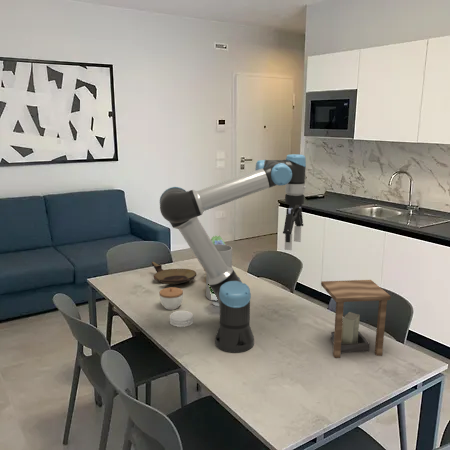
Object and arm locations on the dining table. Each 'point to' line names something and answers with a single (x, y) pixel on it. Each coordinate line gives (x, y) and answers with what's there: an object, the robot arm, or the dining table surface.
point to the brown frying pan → (173, 275)
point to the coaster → (181, 318)
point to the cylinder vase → (226, 255)
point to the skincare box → (350, 328)
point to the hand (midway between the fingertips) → (292, 245)
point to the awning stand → (352, 293)
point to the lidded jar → (171, 297)
